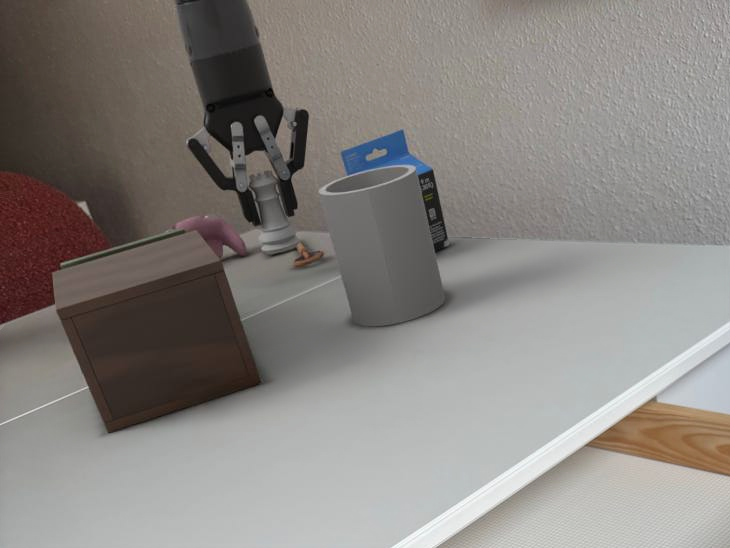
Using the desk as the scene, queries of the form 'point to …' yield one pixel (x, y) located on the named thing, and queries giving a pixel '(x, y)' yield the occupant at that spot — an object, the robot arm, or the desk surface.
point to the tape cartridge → (401, 156)
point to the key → (306, 256)
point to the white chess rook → (272, 215)
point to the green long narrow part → (122, 248)
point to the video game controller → (214, 233)
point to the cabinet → (154, 329)
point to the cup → (383, 245)
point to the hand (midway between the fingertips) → (273, 219)
